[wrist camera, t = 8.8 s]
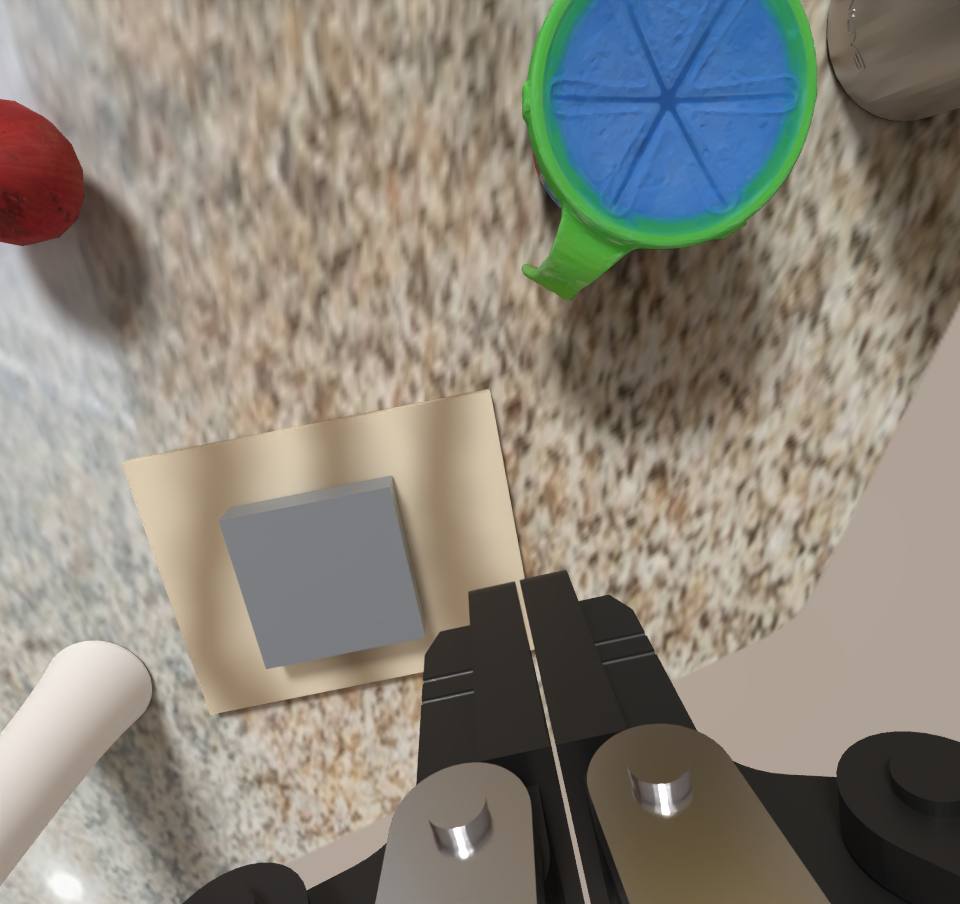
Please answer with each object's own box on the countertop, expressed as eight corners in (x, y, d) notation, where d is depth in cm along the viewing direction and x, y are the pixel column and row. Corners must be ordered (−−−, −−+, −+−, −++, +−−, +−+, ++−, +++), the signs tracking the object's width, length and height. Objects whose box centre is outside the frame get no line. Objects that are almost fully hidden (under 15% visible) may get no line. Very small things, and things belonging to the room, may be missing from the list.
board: (489, 388, 36) (490, 391, 35) (535, 641, 40) (537, 648, 40) (128, 459, 36) (121, 463, 35) (214, 706, 40) (210, 714, 39)
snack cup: (618, -75, 31) (704, -236, 21) (783, 73, 33) (931, -10, 23) (431, 216, 34) (430, 195, 24) (594, 335, 36) (654, 360, 26)
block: (389, 486, 34) (218, 520, 34) (425, 637, 37) (265, 669, 37) (392, 474, 36) (230, 506, 36) (425, 618, 39) (274, 648, 39)
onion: (135, 228, 33) (42, 216, 25) (24, 261, 33) (-102, 259, 25) (84, 103, 31) (-31, 49, 23) (-32, 138, 31) (-185, 95, 24)
